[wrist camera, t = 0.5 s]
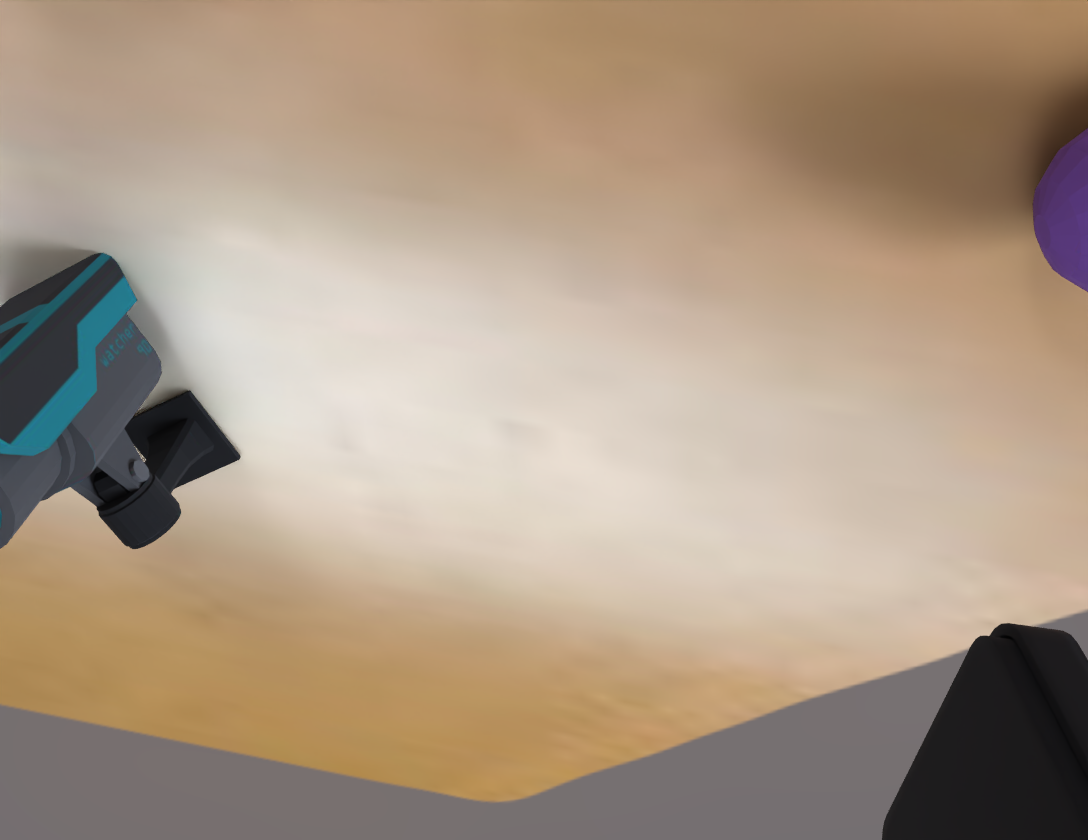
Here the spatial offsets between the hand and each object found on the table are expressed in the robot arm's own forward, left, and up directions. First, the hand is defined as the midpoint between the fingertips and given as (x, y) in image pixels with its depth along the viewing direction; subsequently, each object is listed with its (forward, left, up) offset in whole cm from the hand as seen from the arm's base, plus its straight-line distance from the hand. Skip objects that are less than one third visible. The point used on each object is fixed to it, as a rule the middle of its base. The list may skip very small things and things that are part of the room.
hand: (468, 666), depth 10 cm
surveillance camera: (+16, -15, -30) cm, 36 cm away
